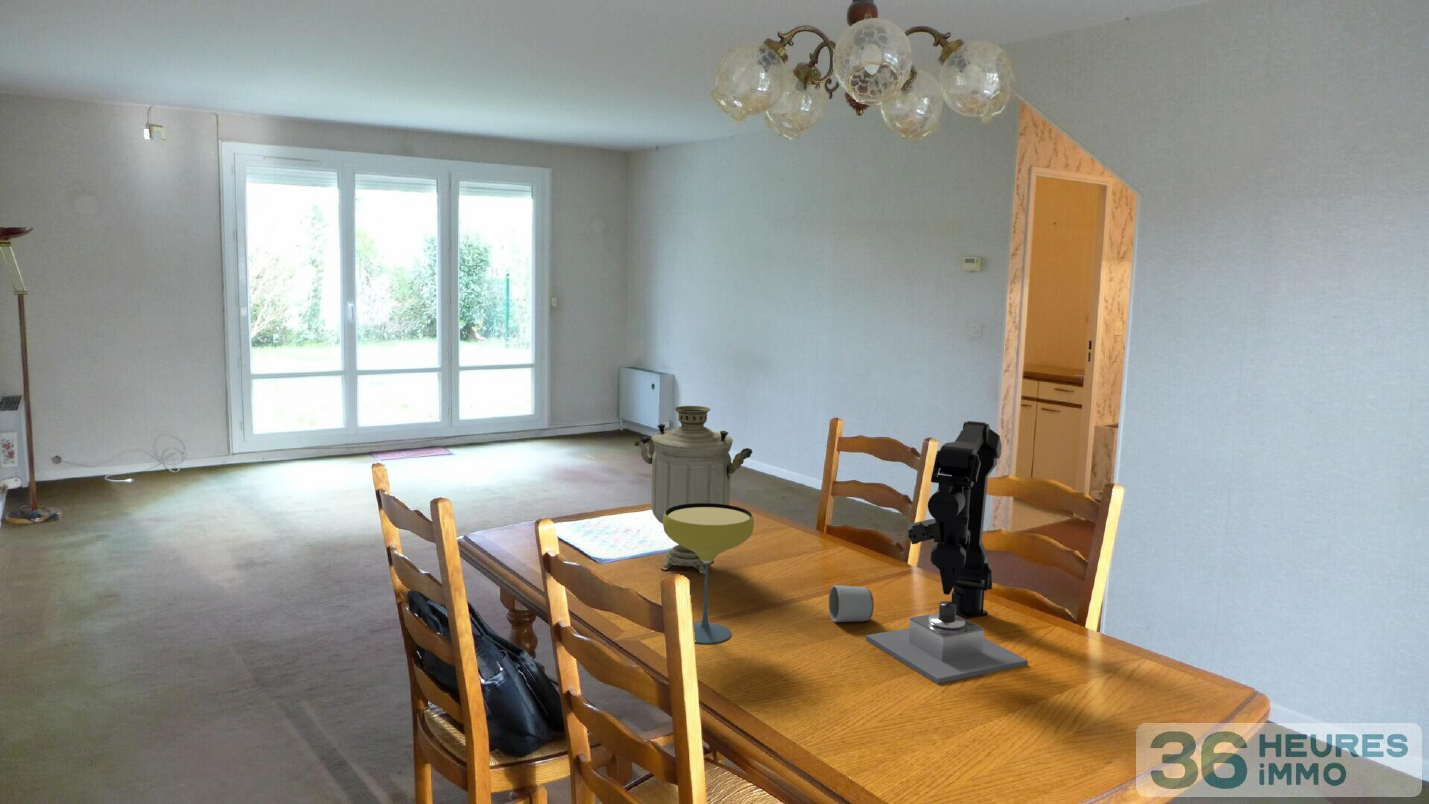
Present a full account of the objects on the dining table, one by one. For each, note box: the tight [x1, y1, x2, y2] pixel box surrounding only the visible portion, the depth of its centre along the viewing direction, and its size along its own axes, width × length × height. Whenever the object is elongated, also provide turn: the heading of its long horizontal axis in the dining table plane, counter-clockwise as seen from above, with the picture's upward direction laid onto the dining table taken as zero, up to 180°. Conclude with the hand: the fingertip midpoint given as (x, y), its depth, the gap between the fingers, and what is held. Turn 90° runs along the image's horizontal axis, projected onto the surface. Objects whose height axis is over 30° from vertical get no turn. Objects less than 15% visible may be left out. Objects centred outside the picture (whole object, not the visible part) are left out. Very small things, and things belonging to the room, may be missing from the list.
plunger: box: [928, 600, 965, 629], centre depth 180 cm, size 7×7×8 cm
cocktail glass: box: [662, 503, 755, 645], centre depth 185 cm, size 18×18×25 cm
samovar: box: [633, 405, 753, 573], centre depth 230 cm, size 30×26×40 cm
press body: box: [908, 612, 985, 661], centre depth 181 cm, size 10×10×5 cm
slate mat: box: [865, 627, 1029, 685], centre depth 181 cm, size 22×22×1 cm
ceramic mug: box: [828, 584, 875, 623], centre depth 198 cm, size 11×8×8 cm
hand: (948, 586), depth 182 cm, fingers open, 9 cm apart
